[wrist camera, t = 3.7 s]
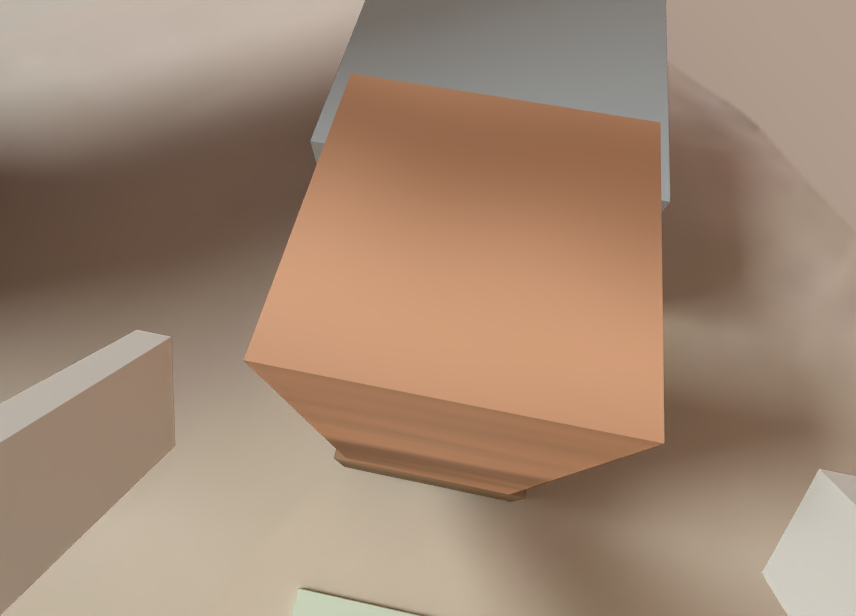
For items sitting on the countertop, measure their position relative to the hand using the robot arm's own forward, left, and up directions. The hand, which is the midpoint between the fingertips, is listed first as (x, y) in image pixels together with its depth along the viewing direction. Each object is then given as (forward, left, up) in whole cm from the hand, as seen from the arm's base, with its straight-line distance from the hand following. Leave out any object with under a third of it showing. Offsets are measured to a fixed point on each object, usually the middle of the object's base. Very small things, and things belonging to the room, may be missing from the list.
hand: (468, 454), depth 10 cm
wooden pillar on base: (-3, +7, -8) cm, 11 cm away
